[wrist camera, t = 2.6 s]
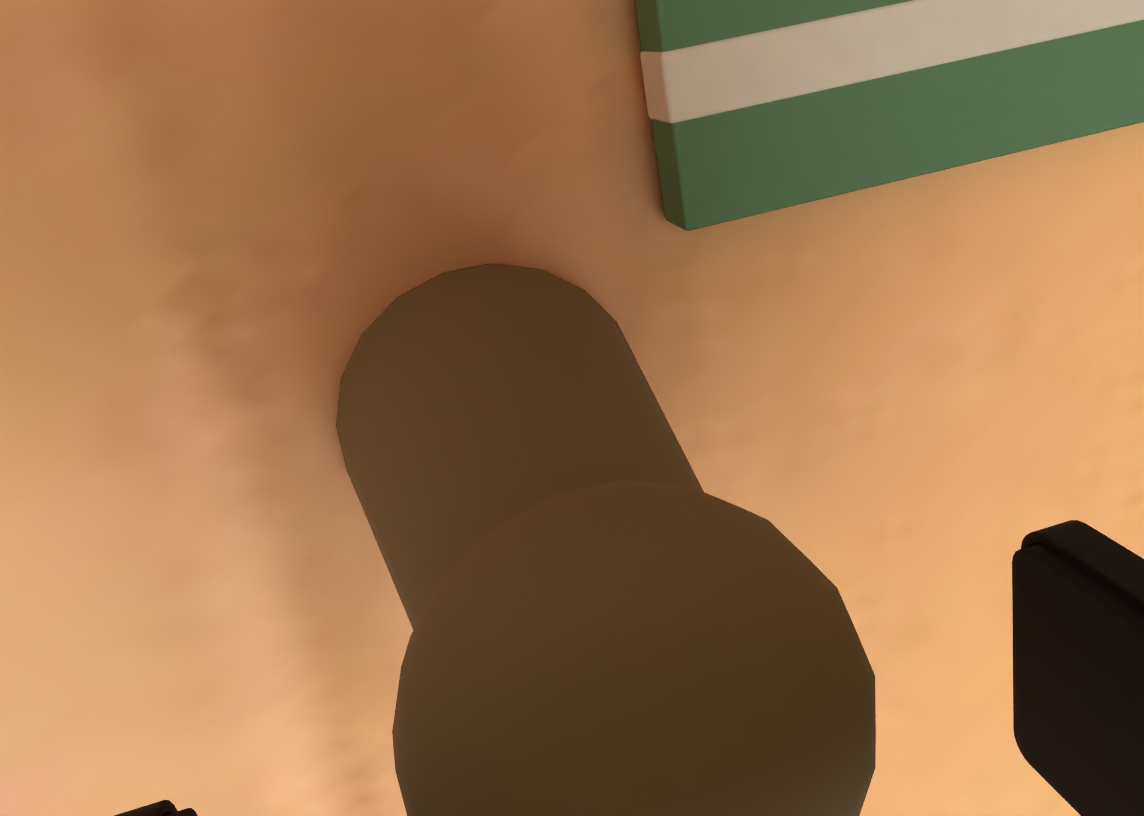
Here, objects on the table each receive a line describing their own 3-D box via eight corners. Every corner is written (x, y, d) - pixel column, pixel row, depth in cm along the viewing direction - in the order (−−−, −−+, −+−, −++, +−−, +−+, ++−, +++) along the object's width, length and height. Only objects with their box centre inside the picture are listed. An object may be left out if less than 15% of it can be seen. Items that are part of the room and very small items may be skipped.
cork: (528, 197, 18) (804, 410, 8) (693, 431, 20) (1062, 819, 10) (266, 397, 18) (202, 862, 8) (464, 604, 20) (606, 1153, 10)
